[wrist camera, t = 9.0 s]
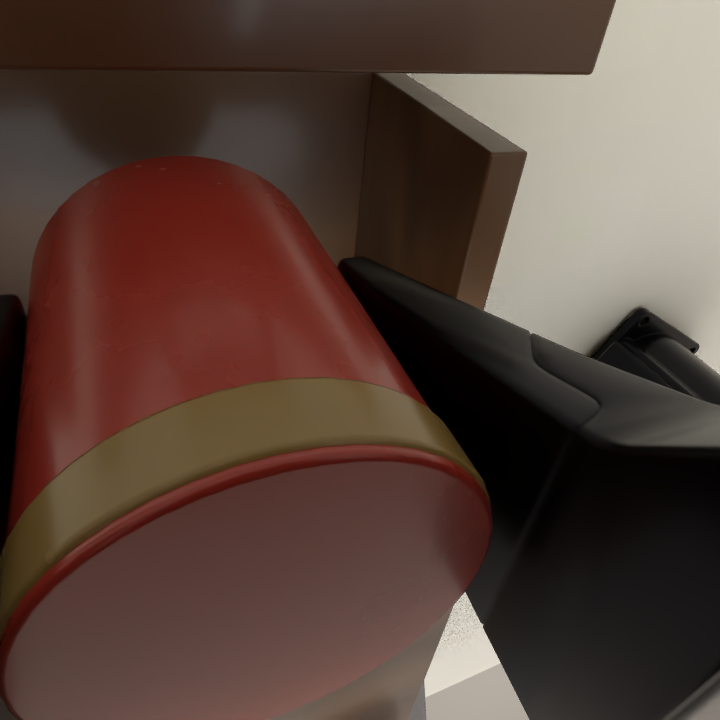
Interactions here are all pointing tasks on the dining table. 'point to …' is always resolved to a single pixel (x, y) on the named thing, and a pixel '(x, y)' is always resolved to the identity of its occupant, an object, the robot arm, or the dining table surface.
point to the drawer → (284, 113)
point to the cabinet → (379, 686)
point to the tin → (215, 464)
